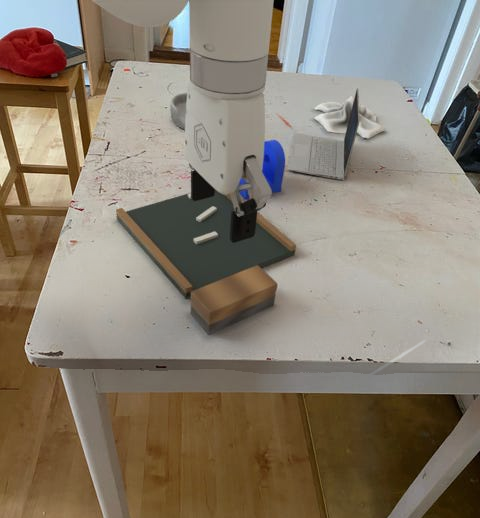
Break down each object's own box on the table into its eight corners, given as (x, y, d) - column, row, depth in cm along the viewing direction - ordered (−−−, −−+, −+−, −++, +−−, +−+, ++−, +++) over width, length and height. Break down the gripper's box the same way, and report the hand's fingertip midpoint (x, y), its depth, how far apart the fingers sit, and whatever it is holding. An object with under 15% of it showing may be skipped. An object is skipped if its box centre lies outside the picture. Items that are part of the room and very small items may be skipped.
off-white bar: (190, 199, 90) (190, 196, 89) (187, 196, 90) (187, 193, 90) (206, 194, 91) (206, 191, 91) (203, 192, 92) (203, 189, 91)
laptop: (293, 136, 115) (303, 79, 105) (344, 144, 114) (359, 87, 105) (286, 172, 102) (297, 111, 93) (344, 181, 102) (360, 121, 92)
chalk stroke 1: (200, 222, 85) (200, 219, 84) (195, 220, 85) (196, 217, 84) (216, 210, 88) (217, 207, 87) (212, 208, 88) (212, 205, 87)
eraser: (208, 335, 68) (209, 313, 64) (190, 313, 70) (190, 291, 67) (273, 305, 73) (277, 283, 70) (254, 286, 76) (257, 264, 72)
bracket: (280, 191, 97) (287, 149, 90) (245, 199, 93) (250, 156, 87) (238, 151, 107) (242, 111, 100) (205, 157, 104) (207, 116, 97)
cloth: (386, 143, 116) (394, 118, 112) (312, 132, 117) (316, 107, 113) (381, 108, 132) (387, 84, 127) (315, 98, 132) (319, 75, 128)
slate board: (185, 299, 72) (185, 288, 71) (116, 219, 85) (115, 209, 83) (294, 254, 82) (296, 244, 81) (218, 189, 95) (218, 179, 93)
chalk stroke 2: (196, 244, 80) (196, 241, 80) (193, 241, 81) (193, 238, 80) (218, 236, 82) (218, 234, 82) (214, 233, 83) (215, 231, 82)
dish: (226, 138, 111) (227, 117, 107) (167, 133, 110) (166, 111, 107) (228, 112, 121) (229, 92, 117) (174, 107, 120) (173, 87, 117)
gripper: (156, 45, 49) (164, 190, 62) (241, 109, 40) (230, 266, 52) (218, 38, 52) (214, 178, 65) (312, 96, 43) (286, 247, 55)
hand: (221, 217), depth 58 cm, fingers open, 9 cm apart
